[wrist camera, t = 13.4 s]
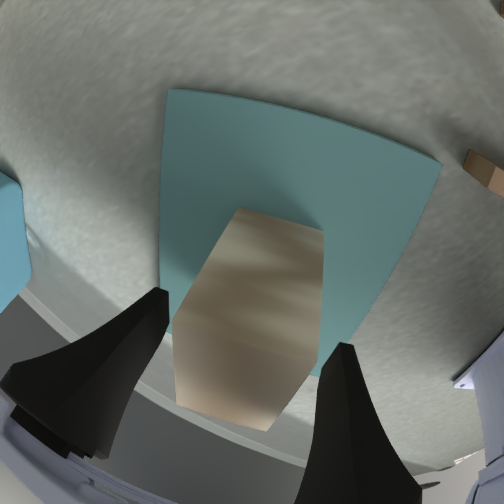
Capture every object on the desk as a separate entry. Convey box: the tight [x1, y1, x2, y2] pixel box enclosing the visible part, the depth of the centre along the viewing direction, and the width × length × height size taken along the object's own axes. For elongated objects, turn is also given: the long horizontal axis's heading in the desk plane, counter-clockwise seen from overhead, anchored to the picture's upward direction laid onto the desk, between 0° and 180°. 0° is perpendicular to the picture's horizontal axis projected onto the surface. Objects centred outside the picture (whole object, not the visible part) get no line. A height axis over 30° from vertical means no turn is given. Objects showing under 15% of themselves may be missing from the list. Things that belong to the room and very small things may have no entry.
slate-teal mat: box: [159, 88, 443, 377], centre depth 15 cm, size 12×16×1 cm
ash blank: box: [172, 207, 324, 431], centre depth 12 cm, size 4×6×7 cm, turn 170°
